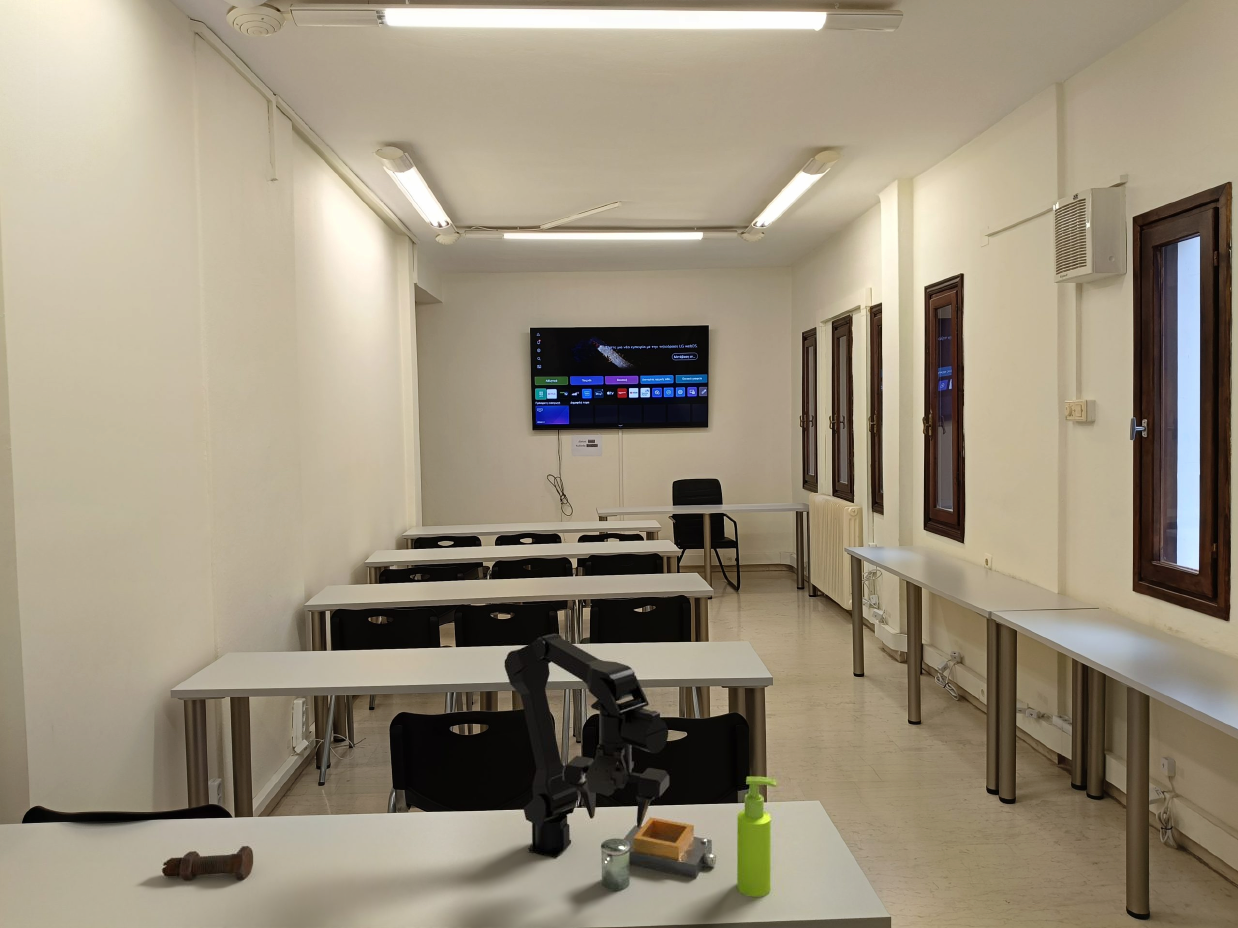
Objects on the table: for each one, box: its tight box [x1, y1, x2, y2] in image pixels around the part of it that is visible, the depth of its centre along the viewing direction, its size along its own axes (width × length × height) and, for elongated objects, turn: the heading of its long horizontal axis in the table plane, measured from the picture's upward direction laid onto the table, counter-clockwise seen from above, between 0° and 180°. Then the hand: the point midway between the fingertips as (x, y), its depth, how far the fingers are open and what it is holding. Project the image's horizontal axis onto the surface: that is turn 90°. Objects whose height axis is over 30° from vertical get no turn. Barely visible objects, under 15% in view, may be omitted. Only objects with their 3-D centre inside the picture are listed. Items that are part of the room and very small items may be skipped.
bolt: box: [161, 845, 254, 882], centre depth 156 cm, size 6×5×15 cm
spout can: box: [600, 837, 631, 892], centre depth 152 cm, size 5×8×7 cm, turn 157°
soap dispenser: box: [736, 776, 778, 898], centre depth 151 cm, size 6×7×20 cm
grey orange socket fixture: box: [622, 816, 717, 879], centre depth 162 cm, size 18×10×5 cm, turn 67°
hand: (615, 822), depth 153 cm, fingers open, 9 cm apart
